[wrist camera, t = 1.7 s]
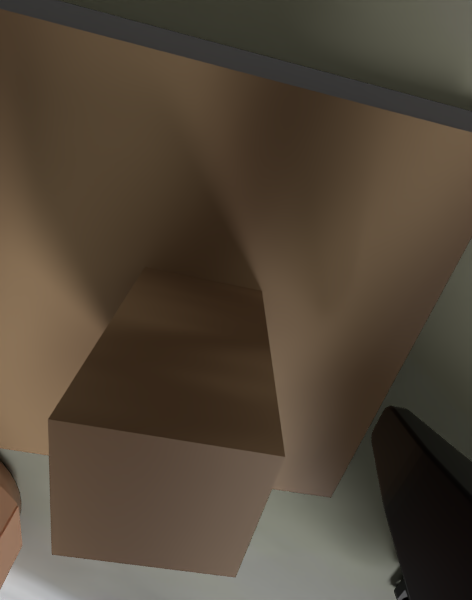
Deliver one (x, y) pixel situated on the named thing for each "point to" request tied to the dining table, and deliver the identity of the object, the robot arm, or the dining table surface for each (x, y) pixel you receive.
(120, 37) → the mat
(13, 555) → the bowl
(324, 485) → the lid
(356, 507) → the dining table surface
